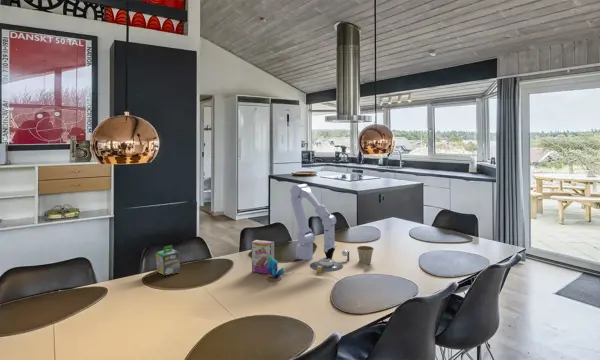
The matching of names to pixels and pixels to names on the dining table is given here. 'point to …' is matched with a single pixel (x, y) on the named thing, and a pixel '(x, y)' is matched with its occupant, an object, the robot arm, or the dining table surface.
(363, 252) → the flower pot
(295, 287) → the dining table surface
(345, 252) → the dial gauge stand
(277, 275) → the gemstone
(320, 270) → the turntable
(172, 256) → the chalk box
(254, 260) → the candy bar box
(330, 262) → the cover
